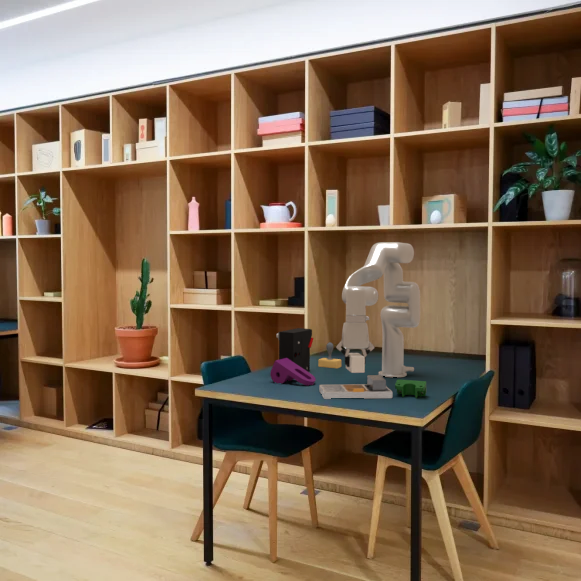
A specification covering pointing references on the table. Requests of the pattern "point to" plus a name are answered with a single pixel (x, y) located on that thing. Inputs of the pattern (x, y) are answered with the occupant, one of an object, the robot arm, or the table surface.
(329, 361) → the rubber stamp
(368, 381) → the grey compartment tray
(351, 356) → the cream upright block
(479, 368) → the table surface
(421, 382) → the clamp
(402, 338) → the robot arm
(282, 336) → the electrical component
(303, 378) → the mounting bracket
